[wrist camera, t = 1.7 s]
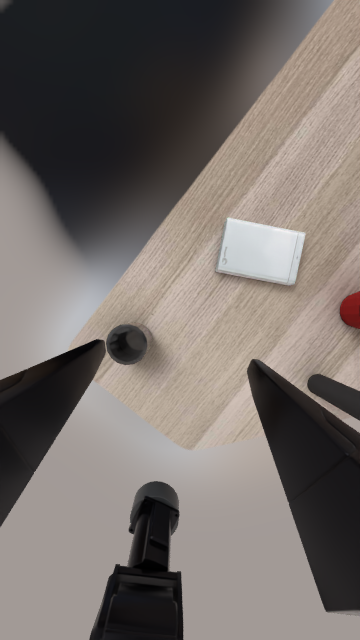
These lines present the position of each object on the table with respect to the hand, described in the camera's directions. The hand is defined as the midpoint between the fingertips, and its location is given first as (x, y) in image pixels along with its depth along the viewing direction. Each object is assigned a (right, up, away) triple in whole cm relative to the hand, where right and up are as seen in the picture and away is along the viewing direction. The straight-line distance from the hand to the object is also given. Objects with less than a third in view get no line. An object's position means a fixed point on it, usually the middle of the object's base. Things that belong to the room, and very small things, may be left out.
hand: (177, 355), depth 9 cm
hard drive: (+13, +13, +16) cm, 24 cm away
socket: (-7, -1, +16) cm, 18 cm away
